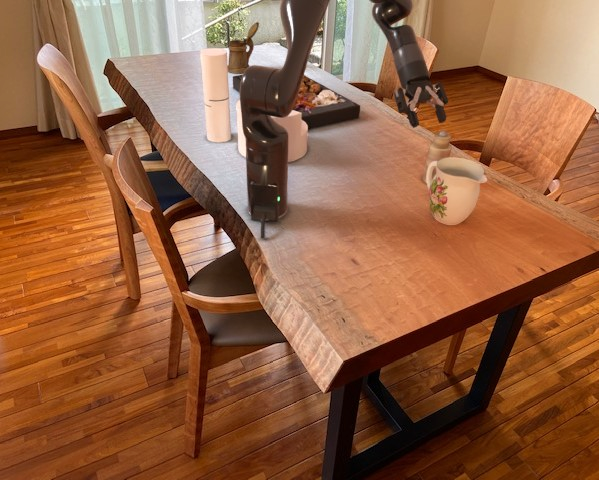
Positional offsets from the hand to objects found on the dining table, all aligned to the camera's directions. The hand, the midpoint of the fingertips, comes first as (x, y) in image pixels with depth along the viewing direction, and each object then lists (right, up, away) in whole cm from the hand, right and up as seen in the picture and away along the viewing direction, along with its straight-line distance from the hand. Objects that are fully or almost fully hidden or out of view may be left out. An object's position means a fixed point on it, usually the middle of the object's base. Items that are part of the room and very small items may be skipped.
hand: (429, 124), depth 128 cm
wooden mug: (-56, +40, +75) cm, 102 cm away
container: (-41, -3, +17) cm, 45 cm away
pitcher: (+1, -24, -10) cm, 26 cm away
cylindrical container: (-58, +1, +21) cm, 62 cm away
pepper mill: (+2, -14, +4) cm, 15 cm away
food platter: (-36, +19, +47) cm, 62 cm away
